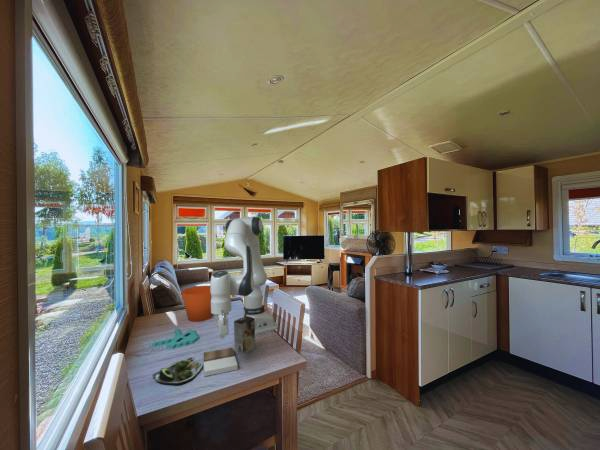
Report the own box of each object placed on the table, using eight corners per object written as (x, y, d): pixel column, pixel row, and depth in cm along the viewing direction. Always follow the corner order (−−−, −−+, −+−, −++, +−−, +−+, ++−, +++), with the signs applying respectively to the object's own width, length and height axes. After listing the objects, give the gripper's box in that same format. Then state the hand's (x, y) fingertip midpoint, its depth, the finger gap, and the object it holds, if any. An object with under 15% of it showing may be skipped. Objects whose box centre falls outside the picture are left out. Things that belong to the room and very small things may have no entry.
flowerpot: (211, 324, 168) (211, 294, 168) (174, 324, 168) (174, 294, 168) (223, 311, 193) (223, 285, 193) (190, 311, 193) (190, 285, 193)
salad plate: (176, 359, 124) (176, 350, 124) (210, 362, 121) (210, 353, 121) (146, 384, 105) (146, 372, 105) (185, 388, 102) (185, 377, 102)
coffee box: (246, 345, 138) (246, 315, 138) (255, 347, 135) (255, 317, 135) (233, 352, 130) (233, 320, 130) (242, 355, 127) (242, 323, 127)
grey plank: (234, 360, 122) (234, 356, 122) (237, 369, 114) (237, 364, 114) (203, 366, 117) (203, 361, 117) (204, 376, 109) (204, 371, 109)
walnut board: (232, 351, 131) (232, 347, 131) (234, 359, 123) (234, 355, 123) (203, 356, 126) (203, 352, 126) (203, 365, 118) (203, 361, 118)
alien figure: (151, 347, 137) (184, 350, 133) (151, 343, 137) (184, 346, 133) (176, 332, 156) (205, 334, 152) (176, 328, 156) (205, 331, 152)
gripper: (231, 313, 107) (232, 346, 107) (225, 300, 126) (226, 328, 126) (215, 316, 104) (217, 349, 105) (212, 302, 123) (213, 330, 123)
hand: (222, 337), depth 115 cm, fingers closed
